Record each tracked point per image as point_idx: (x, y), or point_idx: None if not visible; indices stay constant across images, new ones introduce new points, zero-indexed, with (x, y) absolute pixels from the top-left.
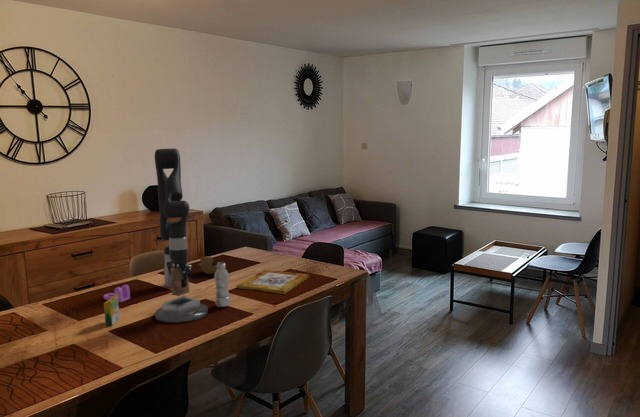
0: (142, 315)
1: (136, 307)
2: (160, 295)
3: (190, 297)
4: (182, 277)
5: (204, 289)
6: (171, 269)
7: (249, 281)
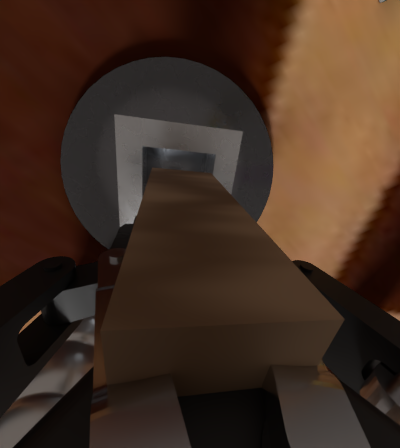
0: (308, 97)
1: (369, 159)
2: (342, 269)
3: None
4: (111, 261)
5: None
6: (294, 286)
7: None
